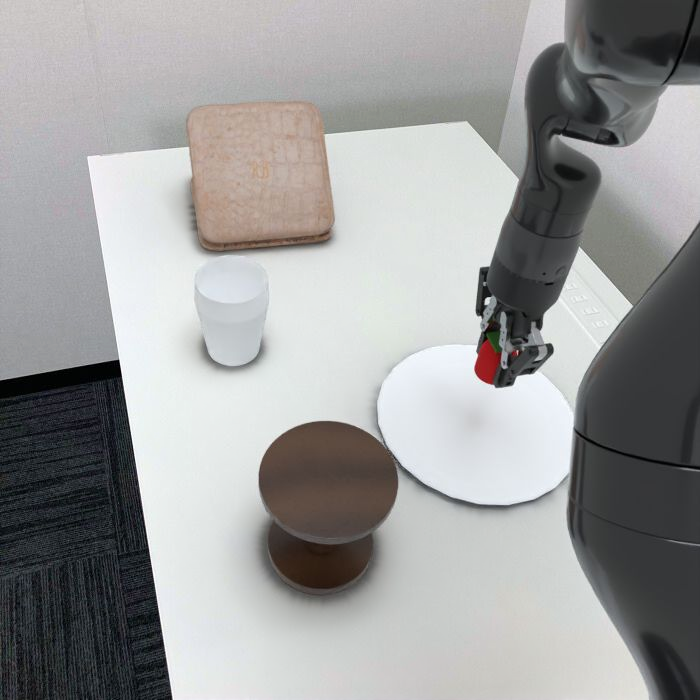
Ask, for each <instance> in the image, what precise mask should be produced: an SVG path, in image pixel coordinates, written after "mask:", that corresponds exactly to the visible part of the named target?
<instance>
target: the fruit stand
mask: <svg viewBox="0 0 700 700" xmlns="http://www.w3.org/2000/svg"><path fill="white" fill-rule="evenodd" d="M388 450H389V449H388V448H386V446H384V444H383V443H382V442H381V441H380V440H379V439H378V438H376V437H375V436H374V435H373V434H371V433H370V432H368V431H366V430H364V429H362V428H360V427H358V426H356V425H354V424H350V423H347V422H343V421H336V420H315V421H310V422H305V423H302V424H299V425H296V426H294V427H291V428H290V429H288V430H286V431H284V432H283V433H281V434H280V435H278V436H277V437H276V438H275V439H274V440H273V441H272V442H271V444H269V446H268V447H267V449H266V450H265V452H264V454H263V456H262V459H261V461H260V464H259V469H258V493H259V497H260V500H261V503H262V504H263V507H264V509H265V511H266V512H267V514H268V515H269V517H270V518H271V519H272V522H271V524H270V526H269V530H268V534H267V553H268V559H269V562H270V564H271V566H272V568H273V570H274V571H275V573H276V574H277V576H278V577H279V578H280V579H281V580H282V581H283V582H285V583H286V584H287V585H288V586H290V587H292V588H293V589H295V590H297V591H299V592H302V593H305V594H309V595H317V596H318V595H319V596H327V595H333V594H336V593H339V592H342V591H344V590H347V589H349V588H350V587H353V585H355V584H356V583H357V582H358V581H359V580H360V579H361V578H362V577H363V576H364V574H365V573H366V571H367V569H368V568H369V566H370V563H371V560H372V556H373V549H374V537H373V533H374V531H376V530H377V529H379V528H380V527H381V526H382V525H383V524H384V523H385V522H386V520H387V519H388V517H389V516H390V514H391V512H392V511H393V509H394V507H395V503H396V500H397V496H398V491H399V475H398V474H399V473H398V470H397V469H398V468H397V466H396V463H395V461H394V459H393V457H392V455H391V452H390V451H388Z"/></svg>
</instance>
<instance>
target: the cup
mask: <svg viewBox="0 0 700 700" xmlns="http://www.w3.org/2000/svg"><path fill="white" fill-rule="evenodd" d="M193 277H194V278H193V281H194V282H193V283H194V284H193V285H194V286H193V287H194V294H193V300H194V305H195V309H196V313H197V316H198V320H199V324H200V327H201V330H202V334H203V338H204V342H205V345H206V348H207V352H208V355H209V356H210V357H211V359H212V360H213V361H214V362H216V363H218V364H220V365H223V366H226V367H240V366H243V365H246V364H248V363H250V362H252V361H253V360H254V359H256V357H257V356H258V354H259V352H260V347H261V343H262V338H263V332H264V329H265V323H266V318H267V313H268V309H269V304H270V288H269V275H268V272H267V271H266V269H265V267H264V266H263V265H261V264H260V263H259V262H258V261H256V260H255V259H252V258H250V257H247V256H242V255H236V254H234V255H232V254H228V255H220V256H216V257H213V258H210V259H208V260H207V261H205V262H203V263H202V264H201V265H200V266H199V267H198V268H197V269H196V271H195V274H194V276H193Z"/></svg>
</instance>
